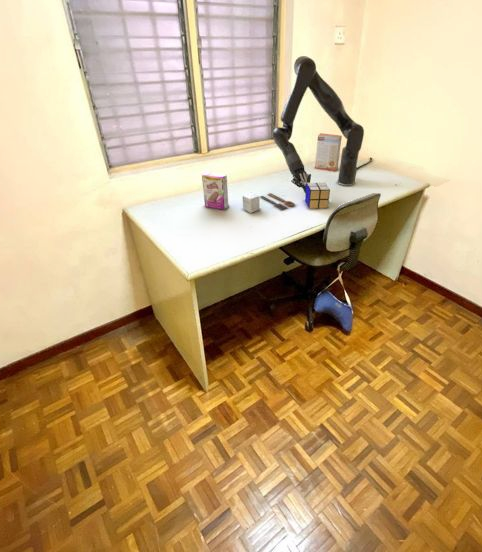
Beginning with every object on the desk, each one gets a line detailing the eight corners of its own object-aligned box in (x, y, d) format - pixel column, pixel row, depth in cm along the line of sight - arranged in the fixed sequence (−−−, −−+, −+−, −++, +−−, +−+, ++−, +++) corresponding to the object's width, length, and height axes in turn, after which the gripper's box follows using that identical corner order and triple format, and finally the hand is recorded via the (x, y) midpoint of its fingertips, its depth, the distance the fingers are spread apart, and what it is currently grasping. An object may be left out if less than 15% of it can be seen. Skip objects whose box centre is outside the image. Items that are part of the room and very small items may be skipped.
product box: (259, 209, 166) (259, 195, 161) (250, 213, 162) (250, 199, 158) (251, 205, 169) (251, 192, 165) (242, 209, 166) (242, 195, 161)
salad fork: (264, 196, 179) (264, 195, 179) (287, 208, 167) (287, 207, 167) (258, 198, 177) (258, 197, 177) (281, 210, 165) (281, 209, 165)
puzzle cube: (304, 200, 175) (306, 182, 169) (323, 200, 176) (325, 182, 170) (308, 209, 167) (310, 190, 161) (327, 208, 168) (330, 189, 162)
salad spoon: (272, 193, 182) (272, 192, 182) (296, 205, 170) (296, 204, 170) (266, 195, 180) (266, 194, 179) (290, 207, 168) (290, 206, 168)
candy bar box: (204, 207, 167) (201, 175, 157) (209, 203, 171) (206, 171, 161) (224, 210, 164) (222, 178, 154) (229, 206, 168) (227, 174, 158)
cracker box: (337, 168, 217) (342, 135, 205) (335, 171, 213) (339, 137, 200) (317, 165, 222) (320, 132, 209) (314, 168, 217) (317, 134, 205)
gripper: (288, 161, 167) (302, 192, 167) (307, 157, 174) (321, 187, 174) (281, 169, 173) (294, 199, 173) (300, 164, 180) (313, 193, 180)
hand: (308, 193), depth 173 cm, fingers closed
